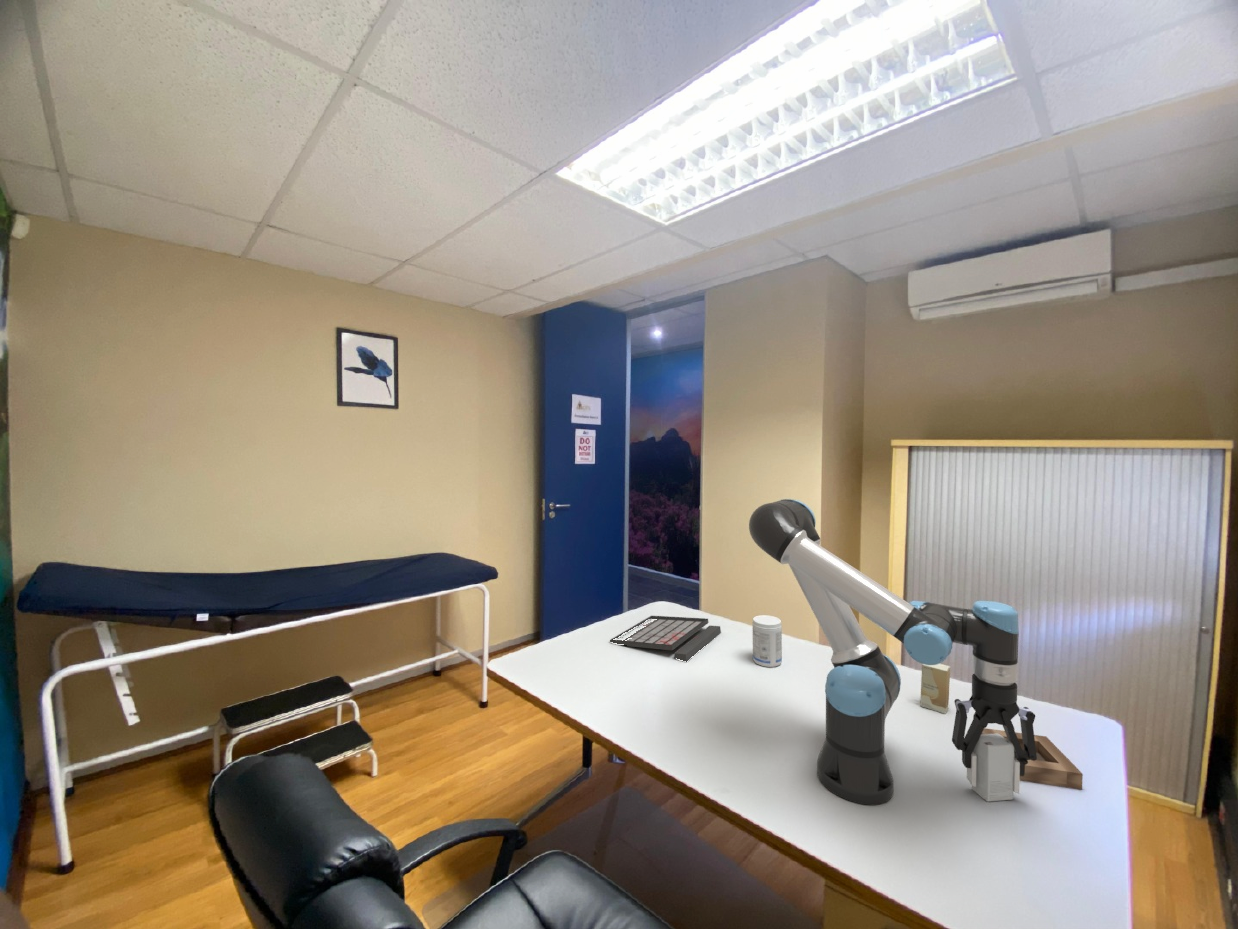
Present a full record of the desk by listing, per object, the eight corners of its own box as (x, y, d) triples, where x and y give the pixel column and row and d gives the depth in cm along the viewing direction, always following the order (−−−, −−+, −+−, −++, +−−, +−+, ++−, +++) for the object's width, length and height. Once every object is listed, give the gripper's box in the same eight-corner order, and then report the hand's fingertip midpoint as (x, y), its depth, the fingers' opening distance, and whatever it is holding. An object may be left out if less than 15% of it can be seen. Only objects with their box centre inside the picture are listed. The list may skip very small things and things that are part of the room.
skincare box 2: (996, 786, 105) (997, 731, 105) (1015, 801, 101) (1016, 744, 101) (969, 788, 105) (970, 733, 104) (987, 803, 100) (988, 746, 100)
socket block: (1004, 777, 108) (1004, 762, 108) (977, 741, 122) (978, 727, 121) (1082, 789, 104) (1082, 773, 104) (1045, 750, 118) (1046, 736, 118)
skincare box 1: (919, 706, 138) (920, 663, 138) (923, 700, 141) (923, 659, 141) (946, 715, 134) (947, 670, 133) (949, 708, 137) (950, 665, 136)
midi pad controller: (612, 658, 185) (687, 667, 168) (609, 640, 185) (684, 647, 168) (653, 628, 211) (721, 632, 194) (650, 612, 211) (718, 615, 194)
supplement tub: (772, 654, 173) (772, 613, 173) (787, 666, 164) (787, 623, 163) (747, 657, 171) (747, 616, 171) (761, 669, 162) (761, 625, 161)
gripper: (946, 680, 101) (944, 788, 102) (1062, 693, 96) (1059, 807, 96) (934, 664, 108) (932, 766, 109) (1041, 675, 103) (1039, 782, 104)
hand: (992, 785), depth 103 cm, fingers closed on skincare box 2, 7 cm apart
